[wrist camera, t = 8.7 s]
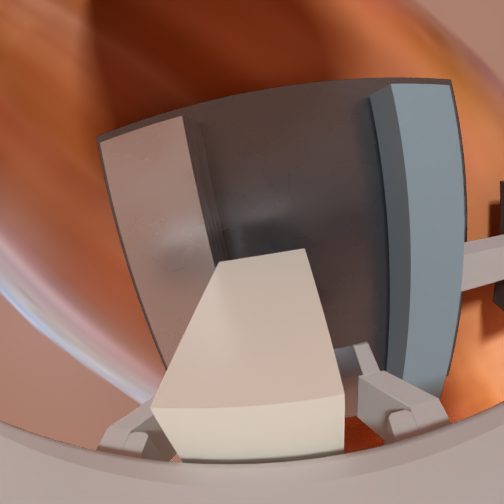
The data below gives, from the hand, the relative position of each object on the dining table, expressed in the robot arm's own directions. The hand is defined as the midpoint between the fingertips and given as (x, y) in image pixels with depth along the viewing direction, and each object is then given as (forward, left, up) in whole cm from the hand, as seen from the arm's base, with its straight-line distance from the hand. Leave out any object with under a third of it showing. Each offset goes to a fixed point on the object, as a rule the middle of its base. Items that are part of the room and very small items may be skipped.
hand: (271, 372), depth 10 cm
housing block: (0, 0, -4) cm, 4 cm away
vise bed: (-2, 0, -9) cm, 9 cm away
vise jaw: (-12, 0, -7) cm, 14 cm away
